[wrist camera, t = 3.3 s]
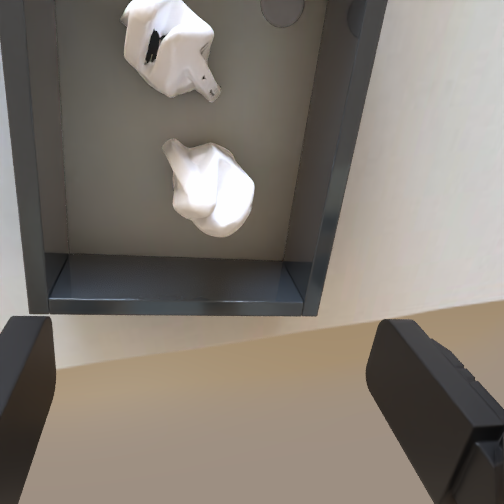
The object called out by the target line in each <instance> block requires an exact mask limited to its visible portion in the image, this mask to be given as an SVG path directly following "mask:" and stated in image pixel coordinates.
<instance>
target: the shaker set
mask: <svg viewBox="0 0 504 504" xmlns="http://www.w3.org/2000/svg"><path fill="white" fill-rule="evenodd" d="M120 21H121V22H122V23H123V24H124V25H126V26H127V32H126V39H125V47H124V57H125V59H126V60H127V61H128V62H129V64H131V65H132V66H133V67H134V68H135V69H136V70H137V71H138V73H139V74H140V75H141V77H142V78H143V79H144V80H145V82H146V83H147V84H149V86H150V87H152V88H155V89H156V90H157V91H159V92H160V93H163V94H164V95H166V96H168V97H171V98H173V97H175V96H177V95H179V94H184V93H188V92H190V91H191V90H196V91H198V92H199V93H201V94H202V95H203V96H204V97H205V98H206V99H207V100H208V101H210V102H213V101H215V100H216V98H219V96H220V93H221V89H220V87H221V86H220V85H218V84H217V83H216V81H215V79H214V77H213V75H212V73H211V71H210V69H209V68H208V66H207V60H208V57H209V54H210V52H211V51H210V46H211V43H212V41H213V38H214V31H213V30H212V28H211V27H210V26H209V25H208V24H207V23H206V22H204V21H203V20H202V19H201V18H200V17H198V16H197V15H196V14H195V13H194V12H193V11H192V10H191V9H190V8H189V7H188V6H187V5H186V4H185V3H184V2H183V1H182V0H133V1H131V2H130V4H129V5H128V6H127V7H126V9H125V11H124V12H123V15H122V17H120ZM153 29H155V30H154V31H157V32H158V33H159V38H160V37H161V36H162V35H165V36H166V37H165V38H164V39H163V41H162V42H161V44H160V41H161V39H160V40H159V49H158V50H157V57H156V59H155V60H154V62H151V60H152V55H153V54H151V59H150V60H149V63H148V64H146V65H144V63H147V62H146V60H145V58H146V53H147V51H148V45H149V43H150V39H151V35H152V33H153ZM205 44H207V45H205ZM204 45H205V47H204V48H203V49H202V50H201V48H202V47H203V46H204ZM207 46H208V47H207ZM206 47H207V48H206ZM205 48H206V49H205ZM204 49H205V50H204ZM200 50H201V51H200ZM203 50H204V51H203ZM202 51H203V52H204V53H203V52H202ZM201 52H202V53H203V54H202V53H201ZM200 53H201V54H202V55H201V54H200ZM204 75H205V76H204ZM203 76H204V78H206V79H203V80H201V79H202V78H203ZM210 90H211V92H212V93H213V95H215V96H213V97H212V95H211V94H210V92H209V91H210ZM213 90H214V91H213ZM217 91H218V92H217ZM162 151H163V152H164V153H165V155H166V157H167V159H168V161H169V163H170V166H171V168H172V170H173V172H174V173H173V188H174V195H173V207H174V209H175V210H176V211H177V212H178V213H179V214H180V215H181V216H183V217H184V218H187V219H190V220H191V221H192V222H193V223H194V224H195V225H196V227H197V228H198V229H200V230H201V231H202V232H204V233H205V234H207V235H210V236H215V237H227V236H229V235H231V234H233V233H234V232H236V231H237V230H238V229H239V228H240V227H241V226H242V225H243V224H244V222H245V221H246V219H247V218H248V216H249V215H250V212H251V210H252V206H253V205H252V201H253V196H254V191H255V186H254V183H253V181H252V180H251V178H250V177H249V176H248V175H247V174H246V172H245V171H244V170H243V169H242V168H241V166H240V165H239V163H238V162H236V160H235V157H234V156H233V154H232V153H231V152H230V151H229V150H228V149H226V148H224V147H222V146H220V145H217V144H215V143H207V144H203V145H200V146H197V147H193V148H188V147H186V146H184V145H183V144H181V143H180V142H179V141H178V140H177V139H169V140H167V141H166V142H165V143H164V144H163V146H162Z"/></svg>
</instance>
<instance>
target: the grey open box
mask: <svg viewBox="0 0 504 504" xmlns="http://www.w3.org/2000/svg"><path fill="white" fill-rule="evenodd" d="M387 1H388V0H328V3H327V9H326V15H325V21H324V26H323V32H322V38H321V44H320V49H319V55H318V61H317V67H316V72H315V78H314V84H313V90H312V95H311V101H310V107H309V113H308V118H307V124H306V130H305V136H304V142H303V147H302V153H301V159H300V165H299V170H298V176H297V182H296V188H295V193H294V199H293V205H292V211H291V216H290V222H289V228H288V234H287V239H286V245H285V251H284V257H283V262H282V261H266V260H238V259H210V258H183V257H155V256H127V255H100V254H72V253H71V254H69V242H68V224H67V206H66V189H65V171H64V153H63V136H62V118H61V100H60V83H59V65H58V47H57V29H56V12H55V0H0V43H1V53H2V62H3V72H4V81H5V90H6V100H7V109H8V119H9V128H10V138H11V147H12V156H13V166H14V175H15V185H16V194H17V203H18V213H19V222H20V232H21V241H22V251H23V260H24V269H25V279H26V288H27V298H28V307H29V314H49V313H50V314H71V315H197V316H301V315H302V316H317V314H318V309H319V305H320V300H321V296H322V291H323V287H324V282H325V278H326V274H327V269H328V265H329V260H330V256H331V251H332V247H333V242H334V238H335V233H336V229H337V224H338V220H339V215H340V211H341V207H342V202H343V198H344V193H345V189H346V184H347V180H348V175H349V171H350V166H351V162H352V157H353V153H354V148H355V144H356V139H357V135H358V131H359V126H360V122H361V117H362V113H363V108H364V104H365V99H366V95H367V90H368V86H369V81H370V77H371V72H372V68H373V64H374V59H375V55H376V50H377V46H378V41H379V37H380V32H381V28H382V23H383V19H384V14H385V10H386V5H387ZM260 3H261V10H262V13H263V15H264V17H265V18H266V20H267V21H268V22H269V23H270V24H272V25H274V26H276V27H288V26H290V25H292V24H293V23H295V22H296V21H297V20H298V19H299V17H300V16H301V14H302V11H303V8H304V0H261V1H260Z"/></svg>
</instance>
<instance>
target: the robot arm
mask: <svg viewBox="0 0 504 504" xmlns="http://www.w3.org/2000/svg"><path fill="white" fill-rule="evenodd" d="M366 381H367V386H368V389H369V391H370V392H371V395H372V396H373V398H374V400H375V401H376V403H377V405H378V407H379V408H380V410H381V412H382V414H383V415H384V417H385V419H386V421H387V422H388V424H389V426H390V428H391V429H392V431H393V433H394V434H395V436H396V438H397V440H398V441H399V443H400V445H401V447H402V448H403V450H404V452H405V454H406V455H407V457H408V459H409V460H410V462H411V464H412V466H413V467H414V469H415V471H416V473H417V474H418V476H419V478H420V480H421V481H422V483H423V485H424V486H425V488H426V490H427V492H428V494H429V495H430V497H431V499H432V500H433V502H434V504H504V409H503V408H502V407H501V406H500V405H499V403H498V402H497V401H496V400H495V399H494V398H493V397H492V396H491V395H490V394H489V393H488V391H487V390H486V389H485V388H484V387H483V386H482V385H481V384H480V383H479V382H478V381H475V377H474V376H473V375H472V374H471V373H470V372H469V371H468V370H467V369H464V365H463V364H462V363H461V362H460V361H459V360H458V359H457V358H456V357H455V355H454V354H452V352H451V351H450V350H448V349H447V348H445V347H444V346H442V345H441V344H439V343H438V342H436V341H435V340H433V339H430V338H429V337H428V335H427V334H426V333H425V332H424V331H423V330H422V329H421V327H420V326H419V325H418V324H417V323H416V322H415V321H413V320H409V319H408V320H407V319H384V320H382V321H381V322H380V323H379V325H378V328H377V332H376V335H375V339H374V342H373V345H372V349H371V352H370V356H369V359H368V363H367V366H366ZM55 384H56V365H55V353H54V342H53V330H52V322H51V318H50V317H49V316H12V317H11V318H10V319H9V320H8V322H7V324H6V325H5V327H4V329H3V330H2V332H1V334H0V504H18V502H19V499H20V496H21V493H22V490H23V487H24V484H25V481H26V478H27V475H28V472H29V469H30V466H31V463H32V460H33V457H34V454H35V451H36V448H37V445H38V442H39V439H40V436H41V433H42V430H43V427H44V424H45V421H46V418H47V415H48V412H49V409H50V406H51V403H52V400H53V396H54V391H55Z"/></svg>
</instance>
